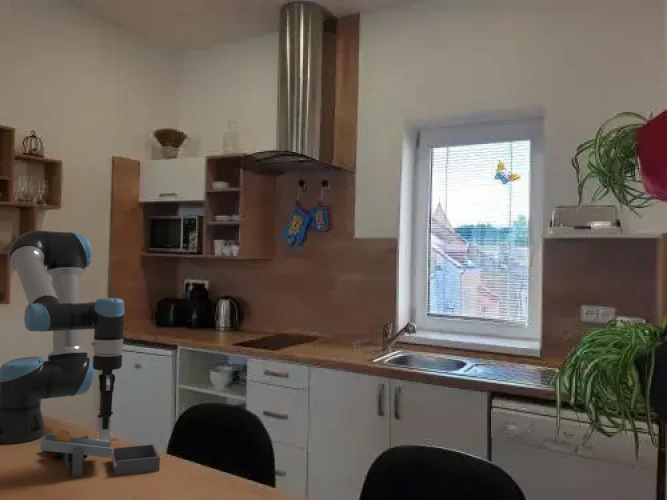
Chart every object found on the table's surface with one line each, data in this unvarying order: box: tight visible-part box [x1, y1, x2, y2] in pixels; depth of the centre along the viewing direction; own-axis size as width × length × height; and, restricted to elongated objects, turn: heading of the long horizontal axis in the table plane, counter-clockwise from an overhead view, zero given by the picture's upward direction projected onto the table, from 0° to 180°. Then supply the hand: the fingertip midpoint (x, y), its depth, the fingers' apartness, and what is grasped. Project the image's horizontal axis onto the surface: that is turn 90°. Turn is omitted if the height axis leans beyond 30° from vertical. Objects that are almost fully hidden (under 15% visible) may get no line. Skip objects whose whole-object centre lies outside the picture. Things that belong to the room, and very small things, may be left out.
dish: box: [110, 443, 161, 476], centre depth 151 cm, size 11×11×4 cm
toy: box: [42, 435, 90, 466], centre depth 156 cm, size 9×6×15 cm
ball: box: [55, 429, 71, 443], centre depth 144 cm, size 4×4×4 cm
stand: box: [69, 447, 84, 479], centre depth 145 cm, size 9×3×7 cm, turn 25°
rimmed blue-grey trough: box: [39, 433, 114, 459], centre depth 148 cm, size 12×17×2 cm
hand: (104, 439), depth 154 cm, fingers closed
